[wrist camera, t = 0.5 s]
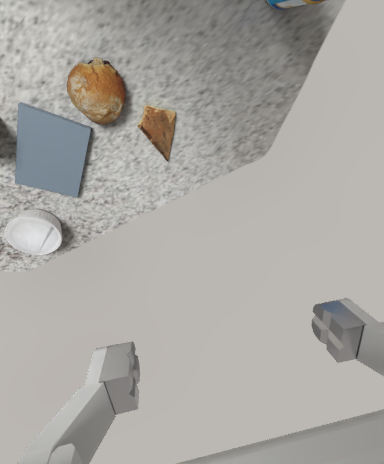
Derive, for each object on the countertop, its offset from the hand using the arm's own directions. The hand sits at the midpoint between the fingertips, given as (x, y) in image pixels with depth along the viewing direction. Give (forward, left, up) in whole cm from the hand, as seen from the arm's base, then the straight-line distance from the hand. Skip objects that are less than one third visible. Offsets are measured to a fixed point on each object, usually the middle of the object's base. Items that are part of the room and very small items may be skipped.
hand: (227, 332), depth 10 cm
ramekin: (+34, -15, -50) cm, 62 cm away
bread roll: (0, -8, -50) cm, 51 cm away
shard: (+2, +6, -50) cm, 51 cm away
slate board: (+15, -14, -50) cm, 54 cm away
